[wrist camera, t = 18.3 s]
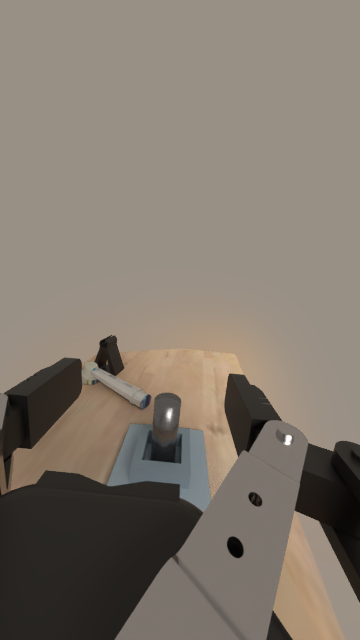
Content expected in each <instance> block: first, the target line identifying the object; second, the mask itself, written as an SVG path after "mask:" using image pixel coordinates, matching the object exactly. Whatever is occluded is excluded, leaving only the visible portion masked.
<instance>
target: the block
mask: <svg viewBox="0 0 360 640" xmlns="http://www.w3.org/2000/svg"><path fill="white" fill-rule="evenodd" d="M152 430H153V425H149V424H143V425H140V424H130V426H129V429H128V431H127V434H126V437H125V439H124V442H123V444H122V447H121V450H120V452H119V455H118V457H117V460H116V463H115V465H114V468H113V470H112V473H111V476H110V478H109V481H108V483H107V486H117V485H123V484H130V483H136V482H143V481H153V482H163V483H173V484H180V498H182V499H184V500H186V501H188V502H190V503H192V504H193V505H195V506H196V507H197V508H199V509H200V510H201V511H202V512H203V513H204V511H205V510H206V508H207V507H208V505H209V503H210V502H211V497H210V488H209V479H208V470H207V461H206V452H205V443H204V434H203V431H201V430H191V429H190V428H179V427H178V436H177V445H176V455H175V463H169V462H159V461H150V457H151V443H152Z"/></svg>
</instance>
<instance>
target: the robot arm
mask: <svg viewBox="0 0 360 640" xmlns="http://www.w3.org/2000/svg"><path fill="white" fill-rule="evenodd" d="M81 389H82V363H81V360H80V359H75V358H63V359H62V360H60V361H58V362H57V363H55V364H54V365H52V366H50V367H47V368H45V369H42V370H40V371H39V372H37V373H35V374H34V375H33V376H31V377H29V378H28V379H26V380H24V381H23V382H21V383H20V384H18V385H17V386H15V387H13V388H11V389H10V390H8V391H7V392H5V393H4V394H1V393H0V640H293V639H292V638H291V636H290V635H289V633H288V632H287V630H286V629H285V628H284V626H283V625H282V623H281V622H280V620H279V619H278V617H277V616H276V614H275V613H274V611H273V606H274V602H275V597H276V592H277V588H278V583H279V579H280V574H281V569H282V565H283V560H284V556H285V551H286V547H287V542H288V537H289V533H290V528H291V524H292V519H293V514H294V510H295V511H297V512H299V513H302V514H304V515H306V516H309V517H311V518H313V519H315V520H318V521H319V522H320V524H321V526H322V528H323V530H324V532H325V534H326V536H327V538H328V540H329V542H330V544H331V546H332V548H333V550H334V552H335V554H336V556H337V558H338V560H339V562H340V564H341V566H342V568H343V570H344V572H345V574H346V576H347V578H348V580H349V582H350V584H351V586H352V588H353V590H354V592H355V594H356V596H357V598H358V600H359V602H360V445H358V444H355V443H352V442H348V441H339V442H337V443H336V445H335V448H334V451H330V450H327V449H324V448H321V447H318V446H315V445H312V444H309V443H308V440H307V438H306V437H305V435H304V434H303V433H302V432H301V431H300V430H298V429H297V428H296V427H294V426H292V425H290V424H288V423H285V422H283V421H282V420H281V419H280V417H279V416H278V414H277V413H276V411H275V410H274V408H273V407H272V405H270V402H269V401H268V399H266V396H265V395H264V393H263V392H262V391H261V390H260V389H259V388H257V387H256V386H255V385H250V384H249V382H248V380H247V379H246V377H245V375H240V374H229V376H228V382H227V389H226V395H225V414H226V417H227V420H228V424H229V427H230V431H231V434H232V438H233V441H234V444H235V448H236V451H237V455H238V459H237V460H236V462H235V464H234V465H233V467H232V468H231V470H230V472H229V473H228V475H227V476H226V478H225V479H224V481H223V483H222V484H221V486H220V487H219V489H218V491H217V492H216V494H215V495H214V497H213V499H212V500H211V502H210V503H209V505H208V507H207V508H206V510H205V511H204V513H203V512H202V511H201V510H200V509H199V508H197V507H196V506H195V505H193V504H192V503H190V502H188V501H186V500H184V499H182V498H180V484H173V483H163V482H153V481H143V482H136V483H130V484H123V485H117V486H106V485H104V484H101V483H99V482H97V481H94V480H92V479H90V478H87V477H85V476H82V475H80V474H75V473H65V472H56V471H45V472H44V474H43V475H42V476H41V478H40V479H39V480H38V482H37V483H36V484H32V485H28V486H24V487H21V488H18V489H15V490H12V491H10V490H11V481H12V471H13V461H14V456H13V452H14V451H15V450H16V449H17V448H27V449H32V448H33V446H34V445H35V444H36V443H37V442H38V441H39V440H40V439H41V438H42V437H43V435H44V434H45V433H46V432H47V431H48V430H49V429H50V428H51V427H52V426H53V425H54V423H55V422H56V421H57V420H58V419H59V418H60V417H61V416H62V415H63V414H64V412H65V411H66V410H67V409H68V408H69V407H70V406H71V405H72V404H73V403H74V401H75V400H76V399H77V398H78V397H79V395H80V393H81Z"/></svg>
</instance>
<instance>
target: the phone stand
mask: <svg viewBox="0 0 360 640" xmlns="http://www.w3.org/2000/svg"><path fill="white" fill-rule="evenodd" d="M111 336H112V335H111ZM111 336H109V337H107V338H105V339H103V340H101V341H100V349H99V352H98V354H97V357H96V359H95V363H97V365H98V368H100V369H102V370H104V371H106V372H108V373H110V374H112V375H113V376H116V375H117V374H118V373H119V372H120V371H122V370H123V369H124V366H123V363H122V360H121V357H120V353H119V350H118V347H117V344H116V343H117V338H116V337H115V336H112V337H111ZM107 360H108V364H109V365H106V362H107Z"/></svg>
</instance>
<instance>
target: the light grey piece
mask: <svg viewBox="0 0 360 640" xmlns="http://www.w3.org/2000/svg"><path fill="white" fill-rule="evenodd" d="M98 381H101V382H102V383H104V384H105V385H107V386H108V387H110V388H111V389H113V390H114V391H116V392H117V393H119V394H120V395H122V396H123V397H125V398H126V399H128V400H129V401H130V403H131V404H135V405H137V406H138V407H140V408H141V409H144V408H146V407H147V406H148V405H149V403H150V402H151V396H150V395H148V394H147V393H145V392H144V391H143V390H142V389H141V388H140V387H139V388H137V387H135V386H133V385H131V384H129V383H127V382H125V381H123V380H121V379H119V378H117V377H115V376H113V375H112V374H110V373H108V372H106V371H104V370H102V369H100V368H98V365H97V363H95V362H87V363H86V364H85V365H84V369H82V383H84V384H89V385H93V384H96V383H98Z"/></svg>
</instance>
